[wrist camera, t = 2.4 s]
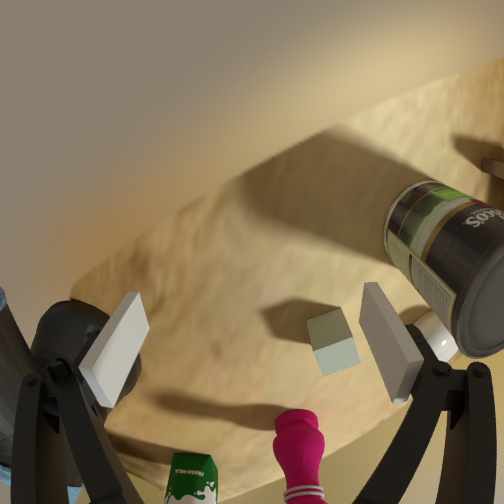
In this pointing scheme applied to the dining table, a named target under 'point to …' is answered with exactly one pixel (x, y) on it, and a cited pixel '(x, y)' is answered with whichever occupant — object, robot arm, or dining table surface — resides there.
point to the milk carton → (192, 480)
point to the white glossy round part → (437, 336)
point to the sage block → (332, 342)
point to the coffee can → (452, 261)
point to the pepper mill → (299, 456)
